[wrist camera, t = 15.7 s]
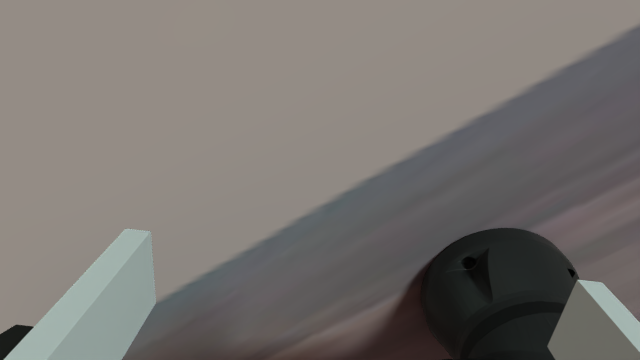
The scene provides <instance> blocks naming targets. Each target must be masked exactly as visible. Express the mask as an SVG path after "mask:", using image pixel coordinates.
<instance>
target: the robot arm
mask: <svg viewBox="0 0 640 360" xmlns="http://www.w3.org/2000/svg"><path fill="white" fill-rule="evenodd" d="M155 303H156V297H155V284H154V269H153V255H152V242H151V232H150V231H142V230H133V229H125V230H124V231H123V232H122V233H121V234H120V235H119V237H117V239H116V240H115V241H114V242H113V243H112V244H111V245H110V246H109V247H108V248H107V249H106V250H105V252H104V253H103V254H102V255H101V256H100V257H99V258H98V259H97V260H96V261H95V262H94V263H93V264H92V265H91V266H90V267H89V269H88V270H87V271H86V272H85V273H84V274H83V275H82V276H81V277H80V278H79V279H78V280H77V282H76V283H75V284H74V285H73V286H72V287H71V288H70V289H69V290H68V291H67V292H66V293H65V294H64V296H62V298H61V299H60V300H59V301H58V302H57V303H56V304H55V305H54V306H53V307H52V308H51V309H50V311H49V312H48V313H47V314H46V315H45V316H44V317H43V318H42V319H41V320H40V321H39V322H38V323H37V324H36V325H35V327H32V326H23V325H15V326H13V327H11V328H10V329H8V330H7V331H5V332H3V333H2V334H0V360H122V358H123V356H124V355H125V353H126V352H127V350H128V348H129V347H130V345H131V343H132V342H133V340H134V338H135V337H136V335H137V333H138V332H139V330H140V328H141V327H142V325H143V323H144V322H145V320H146V318H147V317H148V315H149V313H150V312H151V310H152V308H153V307H154V305H155ZM421 303H422V307H423V311H424V314H425V318H426V321H427V324H428V326H429V328H430V330H431V332H432V334H433V335H434V337H435V338H436V339H437V340H438V341H439V343H440V344H441V345H442V346H443V347H444V348H445V349H446V351H447V352H448V353H449V354H450V356H451V357H452V358H453V359H444V360H640V322H639V321H638V320H637V319H636V318H635V317H634V316H633V315H632V314H631V313H630V312H629V311H628V310H627V309H626V308H625V307H624V305H623V304H622V303H621V302H620V301H619V300H618V299H617V298H616V297H615V296H614V295H613V294H612V293H611V292H610V291H609V290H608V288H607V287H606V286H605V285H604V284H603V283H602V282H593V281H584V280H580V279H579V277H578V274H577V272H576V270H575V269H574V267H573V265H572V264H571V263H570V261H569V260H568V259H567V258H566V257H565V256H564V255H563V253H562V252H561V251H560V250H559V249H558V248H557V247H556V246H555V245H554V244H553V243H551V242H550V241H549V240H547V239H545V238H544V237H542V236H540V235H538V234H535V233H532V232H529V231H525V230H521V229H513V228H498V229H490V230H485V231H481V232H477V233H474V234H471V235H469V236H466V237H464V238H462V239H460V240H458V241H457V242H455V243H453V244H452V245H450V246H449V247H448V248H446V249H445V250H444V251H443V252H442V253H441V254H440V255H439V256H438V257H437V258H436V259H435V260H434V261H433V263H432V264H431V265H430V267H429V269H428V270H427V272H426V274H425V277H424V280H423V283H422V288H421Z"/></svg>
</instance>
